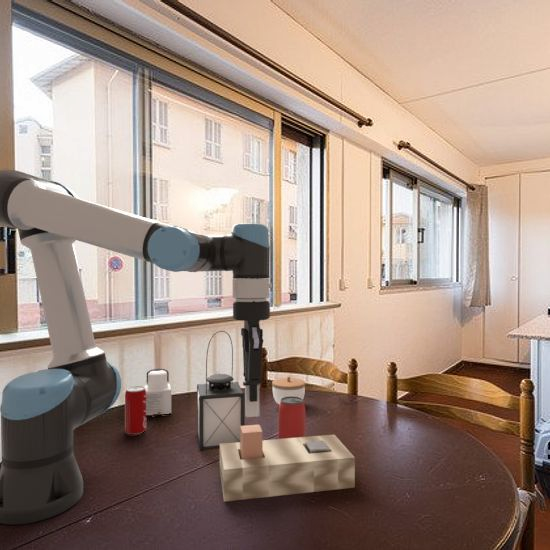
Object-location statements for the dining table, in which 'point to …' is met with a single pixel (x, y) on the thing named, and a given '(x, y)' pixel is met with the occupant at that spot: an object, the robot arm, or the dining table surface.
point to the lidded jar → (288, 388)
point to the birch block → (285, 469)
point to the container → (158, 392)
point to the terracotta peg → (251, 442)
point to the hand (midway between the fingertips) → (252, 415)
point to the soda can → (135, 410)
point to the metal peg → (316, 447)
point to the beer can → (291, 417)
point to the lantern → (219, 410)
